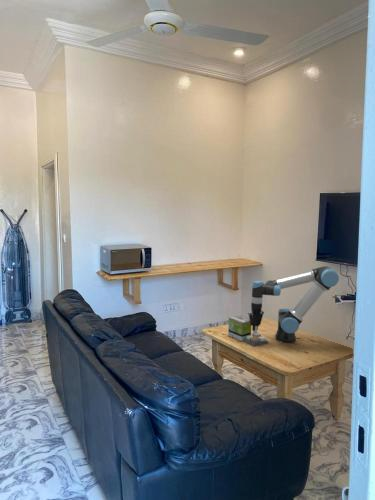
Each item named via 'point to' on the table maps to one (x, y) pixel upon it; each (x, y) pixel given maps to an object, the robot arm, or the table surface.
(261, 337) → the ivory key
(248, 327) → the tea box
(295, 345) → the table surface
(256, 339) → the rust key
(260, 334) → the slate key
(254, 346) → the keypad board
